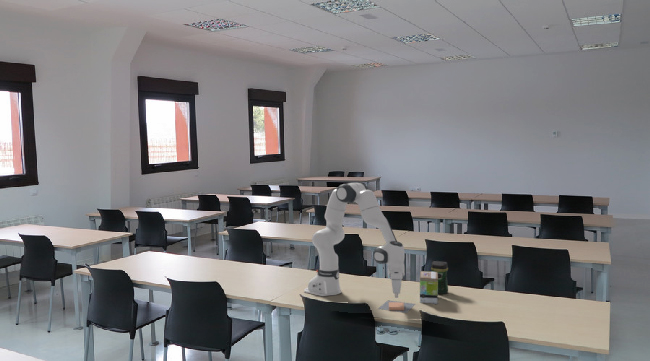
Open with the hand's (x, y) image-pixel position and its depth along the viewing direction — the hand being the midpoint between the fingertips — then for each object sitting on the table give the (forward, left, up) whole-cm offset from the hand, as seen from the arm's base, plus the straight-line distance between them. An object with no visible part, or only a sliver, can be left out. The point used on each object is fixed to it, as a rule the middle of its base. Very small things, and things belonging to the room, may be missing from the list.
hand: (396, 297), depth 280 cm
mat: (0, +2, -6) cm, 7 cm away
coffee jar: (+14, +38, -7) cm, 41 cm away
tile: (-1, +3, -5) cm, 6 cm away
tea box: (+12, +22, -7) cm, 26 cm away
